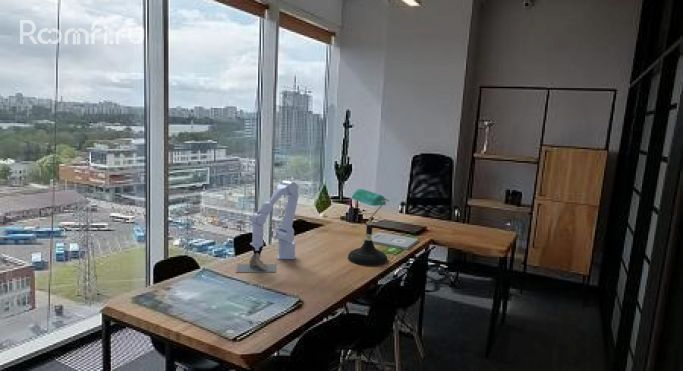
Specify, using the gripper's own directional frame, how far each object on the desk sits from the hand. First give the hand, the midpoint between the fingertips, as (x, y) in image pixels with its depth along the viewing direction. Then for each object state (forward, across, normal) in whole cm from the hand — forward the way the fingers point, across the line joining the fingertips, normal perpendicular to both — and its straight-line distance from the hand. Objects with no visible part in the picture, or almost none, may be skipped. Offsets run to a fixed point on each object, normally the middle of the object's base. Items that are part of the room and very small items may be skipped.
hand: (257, 259), depth 235 cm
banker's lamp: (+2, -6, +63) cm, 63 cm away
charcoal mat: (+2, +9, 0) cm, 9 cm away
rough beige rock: (+2, +7, +1) cm, 8 cm away
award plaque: (+3, -45, +88) cm, 98 cm away
